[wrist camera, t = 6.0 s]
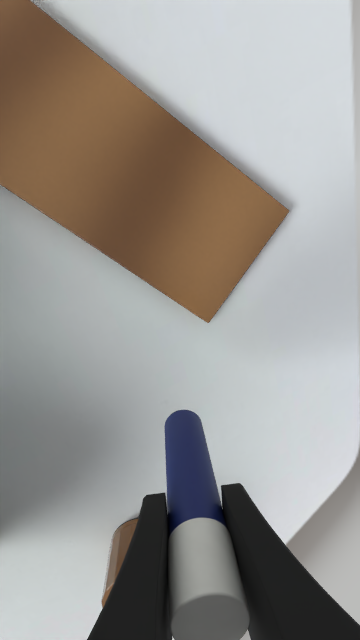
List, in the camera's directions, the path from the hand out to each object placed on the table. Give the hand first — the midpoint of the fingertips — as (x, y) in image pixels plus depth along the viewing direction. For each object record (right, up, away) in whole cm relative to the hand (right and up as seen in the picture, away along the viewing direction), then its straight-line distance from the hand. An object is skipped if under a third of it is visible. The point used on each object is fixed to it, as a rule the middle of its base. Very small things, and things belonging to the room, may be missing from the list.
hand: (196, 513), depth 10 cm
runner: (-10, +18, +5) cm, 21 cm away
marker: (0, +1, +5) cm, 5 cm away
